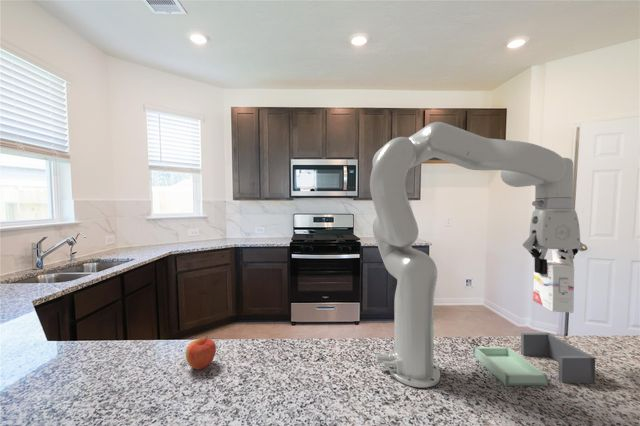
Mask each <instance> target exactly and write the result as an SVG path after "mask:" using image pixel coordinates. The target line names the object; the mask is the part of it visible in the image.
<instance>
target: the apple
mask: <svg viewBox="0 0 640 426" xmlns="http://www.w3.org/2000/svg"><path fill="white" fill-rule="evenodd" d="M208 337H209V336H208V335H206V337H205V338H203V337H202V338H198V339H195V340H193V341H191V342H190V343H189V344H188V346H187V347H186V351H185V359H186V362H187V363H188V365H189V366H190V367H191V368H193V369H195V370H201V371H202V370H204V369H206V368H207V367H208V366H209V365H210V364H212V362H213V360H214V358H215V355H216V352H217V347H216V343H215V341H214V340H212V339H210V338H208Z"/></svg>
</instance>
